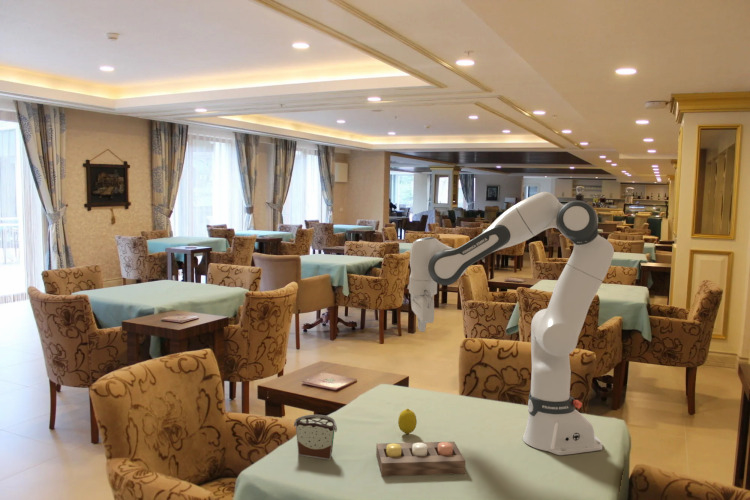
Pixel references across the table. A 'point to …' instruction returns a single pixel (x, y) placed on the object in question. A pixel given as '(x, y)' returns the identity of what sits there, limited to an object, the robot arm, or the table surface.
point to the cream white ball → (419, 449)
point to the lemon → (407, 421)
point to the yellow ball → (393, 450)
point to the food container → (315, 435)
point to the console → (419, 461)
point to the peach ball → (445, 448)
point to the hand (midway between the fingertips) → (421, 330)
